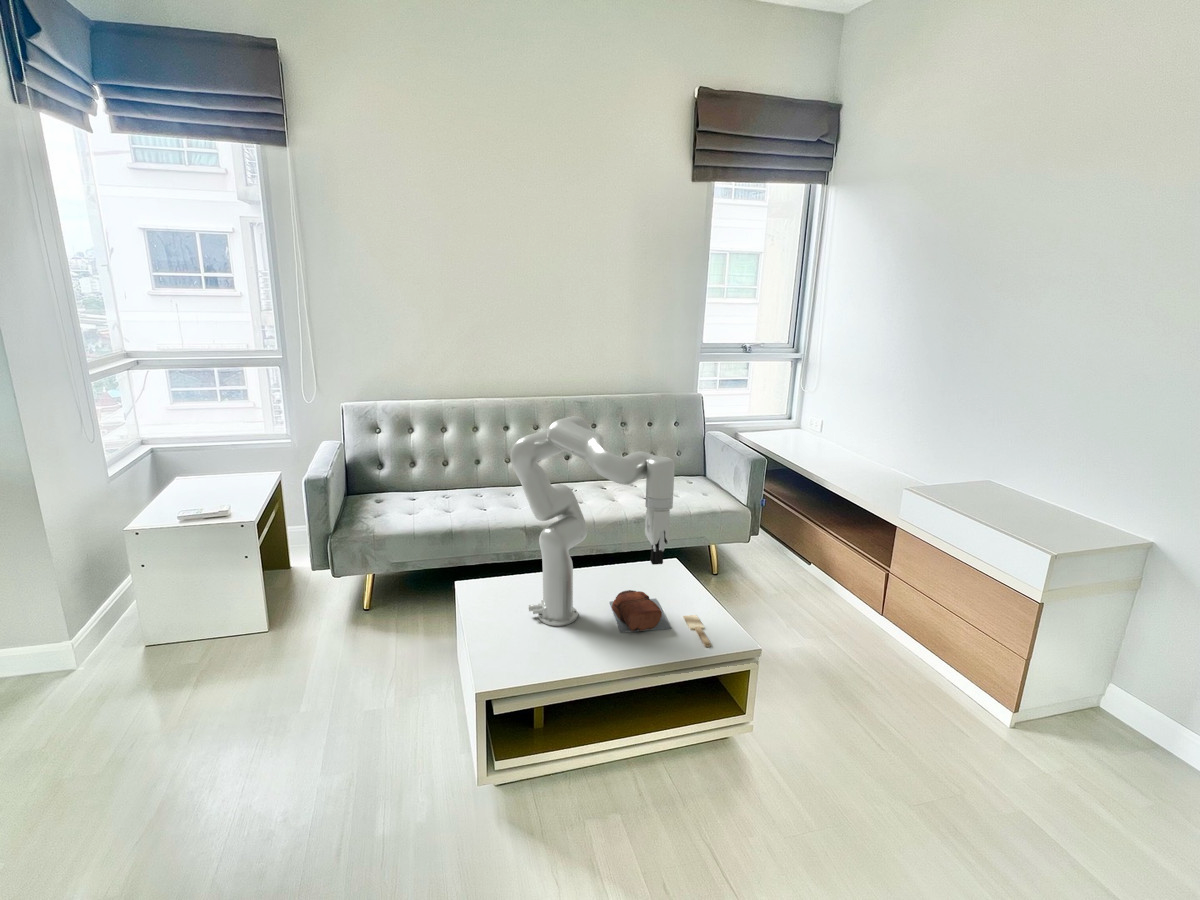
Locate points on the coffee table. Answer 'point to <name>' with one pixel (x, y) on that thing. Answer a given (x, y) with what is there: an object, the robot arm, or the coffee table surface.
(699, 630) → the turner
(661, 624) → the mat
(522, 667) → the coffee table surface
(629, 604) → the wooden figurine
